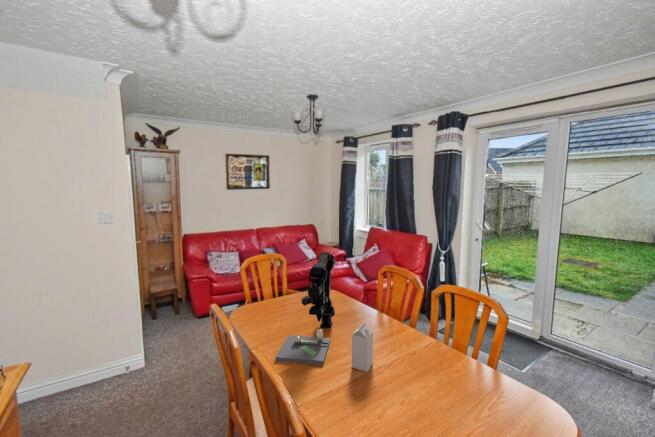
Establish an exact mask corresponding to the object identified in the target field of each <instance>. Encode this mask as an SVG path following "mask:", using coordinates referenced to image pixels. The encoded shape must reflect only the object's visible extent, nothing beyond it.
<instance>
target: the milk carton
mask: <svg viewBox="0 0 655 437" xmlns="http://www.w3.org/2000/svg"><path fill="white" fill-rule="evenodd" d="M373 344H374V331H373V330H372V329H371V328H370V327H369V326H368V324H367V323H366V321H363V322H362V324H361V325H360V326H359V327H358V328H356V330H355V331H354V332H353V333H352V334H351V369H352V368H353V369H356V370H358V371H363V372H366V373H369V370H370V368H371V367H372V366H373V363H374V359H373V358H374V355H373V354H374V348H373V347H374V346H373Z"/></svg>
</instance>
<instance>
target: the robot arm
mask: <svg viewBox="0 0 655 437" xmlns="http://www.w3.org/2000/svg"><path fill="white" fill-rule="evenodd" d="M335 264H336V257H335V255H332V254H331V253H330V252H320V255H319V258H318V260H317V262H316V263H315V264H312V266H311V267H310V268H309V276H308V282H309V283H311V286H310V287H309V288H308V290H307V295H305V296H303V297H302V298H301V305H303V307H305V306H308V305H310V304H311V306H310V308H309V309H308V315H310V316H316V320H317V321H318V322H321V323H320V325H319V327H320V328H327V329H328V328H329V329H331V328H332V327H333V324H334V322H333V321H332V317H334V316H336V313H335V312H336V310H335V307H334V306H333V300H332V299H331V282H332V281H331V280H332V278H331V277H332V271H333V270H334V268H335Z"/></svg>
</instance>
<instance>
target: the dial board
mask: <svg viewBox="0 0 655 437" xmlns="http://www.w3.org/2000/svg"><path fill="white" fill-rule="evenodd" d="M294 336H295V335H287V337H286V338H285V340H284V342H283V344H282V345H281V347H280V349H279V350H278V352H277V353H276V355H275V359H274V360H275V362H277V363H278V362H281V363H291V364H293V363H294V364H303V365H316V366H324V365H325V361H326V357H327V355H328V351H329V348H330V344H331V337H323V342H326V343H328V344H322V343H321V345H315V344H298V345H297V344H294ZM301 336H302V335H301ZM302 340H311V341H317V336H304V335H303V336H302Z"/></svg>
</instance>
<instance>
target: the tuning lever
mask: <svg viewBox="0 0 655 437" xmlns="http://www.w3.org/2000/svg"><path fill="white" fill-rule="evenodd" d="M323 330H324V329H322V328H317V329H316V337H317V341H311V340H302V335H301V334H295V335H293V336H294V344H297V345H298V344H315V345H321V343H322V344H328V343H326V342H323V338H324V331H323Z"/></svg>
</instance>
